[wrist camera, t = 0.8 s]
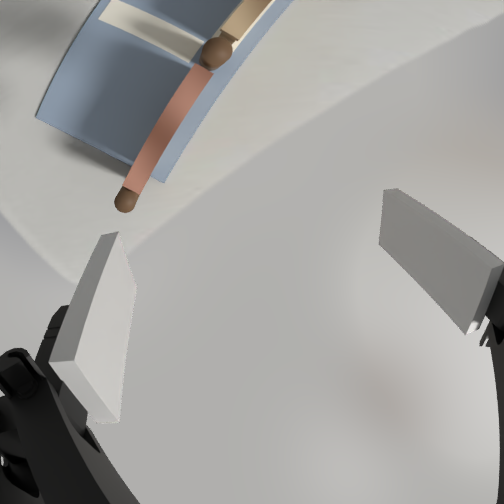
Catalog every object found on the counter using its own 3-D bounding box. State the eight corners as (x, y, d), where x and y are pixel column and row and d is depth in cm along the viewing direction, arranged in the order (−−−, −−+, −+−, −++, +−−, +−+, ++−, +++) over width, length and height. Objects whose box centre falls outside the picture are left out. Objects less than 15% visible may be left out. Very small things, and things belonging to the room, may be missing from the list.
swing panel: (193, 69, 23) (194, 62, 18) (208, 78, 24) (214, 74, 18) (127, 180, 27) (111, 206, 21) (141, 187, 28) (129, 216, 22)
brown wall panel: (283, -41, 19) (310, -71, 13) (300, -30, 20) (331, -57, 14) (194, 64, 24) (196, 55, 17) (213, 75, 24) (221, 69, 18)
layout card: (172, -79, 15) (172, -81, 15) (302, -11, 21) (304, -12, 21) (36, 117, 22) (35, 117, 22) (164, 182, 29) (163, 183, 28)
